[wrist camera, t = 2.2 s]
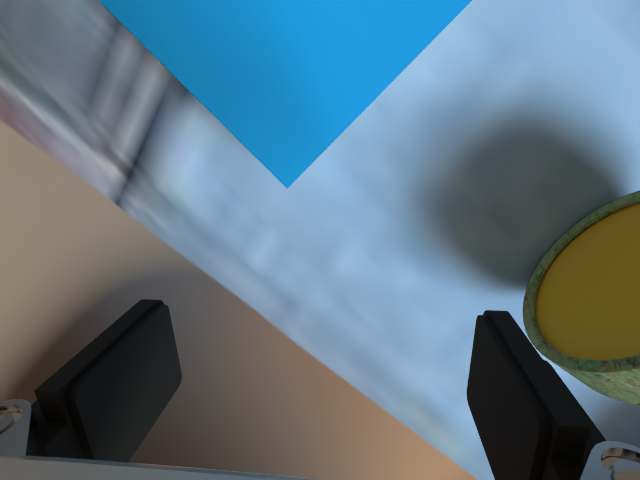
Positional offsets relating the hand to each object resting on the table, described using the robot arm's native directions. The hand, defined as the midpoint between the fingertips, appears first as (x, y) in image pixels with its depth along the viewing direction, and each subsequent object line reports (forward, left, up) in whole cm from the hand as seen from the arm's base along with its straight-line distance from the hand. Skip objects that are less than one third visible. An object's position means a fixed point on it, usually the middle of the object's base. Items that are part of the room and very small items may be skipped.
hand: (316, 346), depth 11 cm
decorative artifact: (-16, +3, -13) cm, 20 cm away
